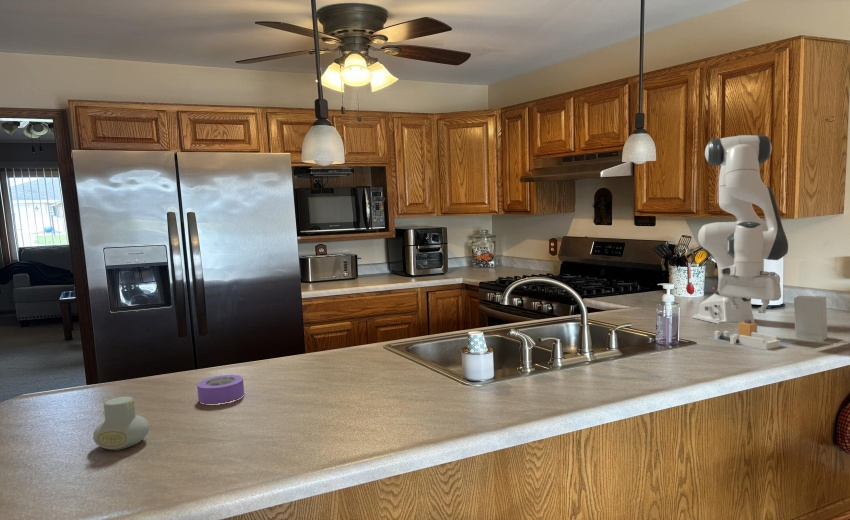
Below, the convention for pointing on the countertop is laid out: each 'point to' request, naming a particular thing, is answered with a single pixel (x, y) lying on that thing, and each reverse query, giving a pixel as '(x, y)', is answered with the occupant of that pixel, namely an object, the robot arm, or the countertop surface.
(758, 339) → the board
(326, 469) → the countertop surface
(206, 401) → the tape roll
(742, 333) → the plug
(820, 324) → the skincare box
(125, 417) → the air freshener
